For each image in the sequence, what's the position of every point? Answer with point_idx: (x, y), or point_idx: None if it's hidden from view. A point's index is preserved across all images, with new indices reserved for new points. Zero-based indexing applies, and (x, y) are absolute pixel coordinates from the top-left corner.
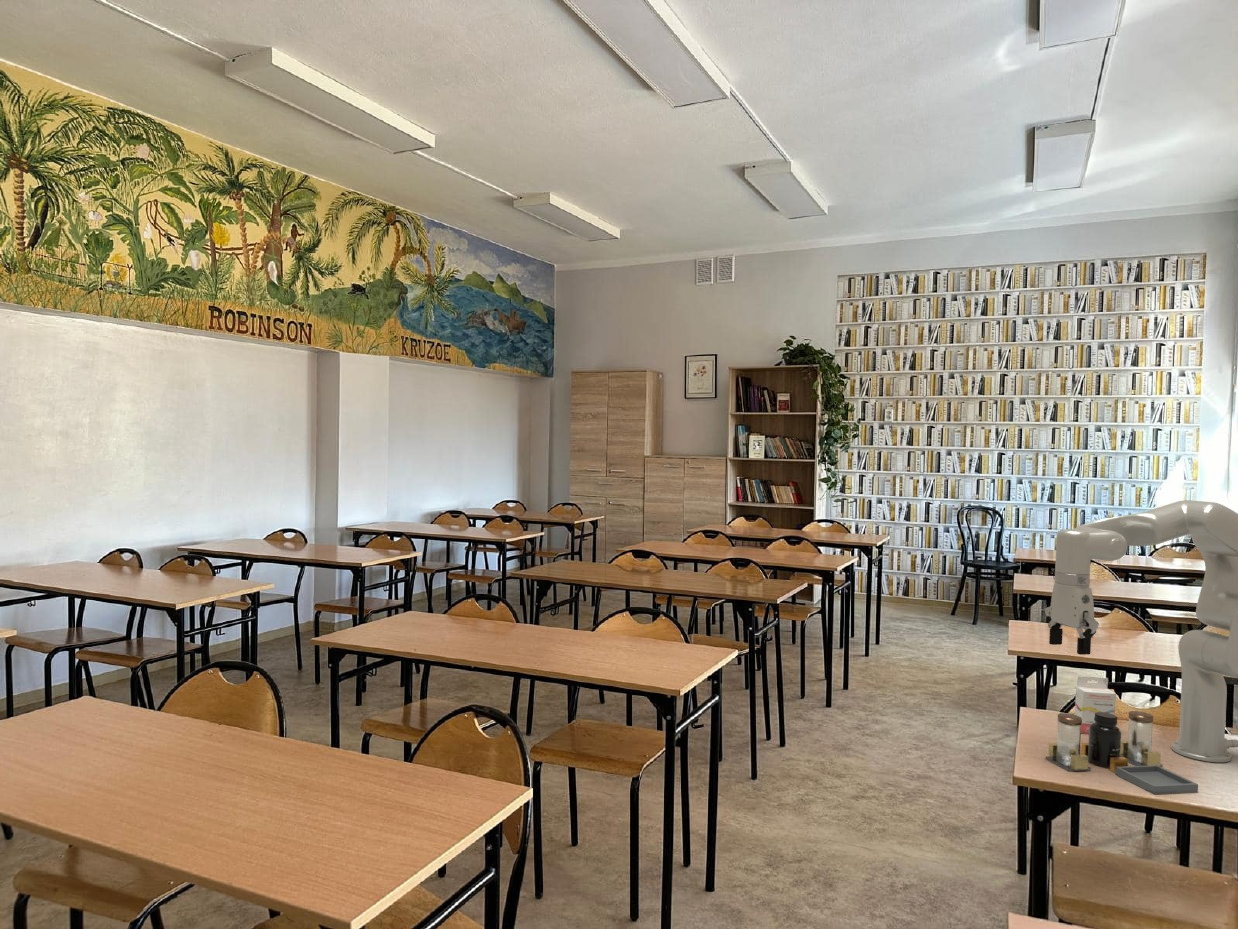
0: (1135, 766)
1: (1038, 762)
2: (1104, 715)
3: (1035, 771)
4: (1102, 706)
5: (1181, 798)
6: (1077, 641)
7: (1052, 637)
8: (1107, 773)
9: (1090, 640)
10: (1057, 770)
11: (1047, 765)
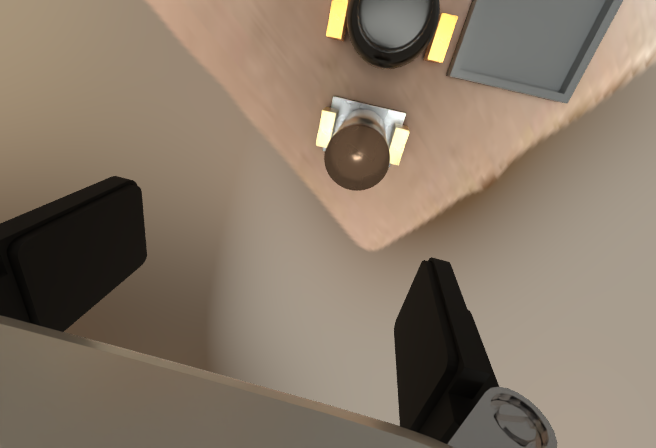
0: (476, 13)
1: None
2: (397, 24)
3: (363, 222)
4: None
5: (611, 55)
6: (399, 407)
7: (108, 289)
8: (432, 87)
9: (479, 352)
10: None
11: None
